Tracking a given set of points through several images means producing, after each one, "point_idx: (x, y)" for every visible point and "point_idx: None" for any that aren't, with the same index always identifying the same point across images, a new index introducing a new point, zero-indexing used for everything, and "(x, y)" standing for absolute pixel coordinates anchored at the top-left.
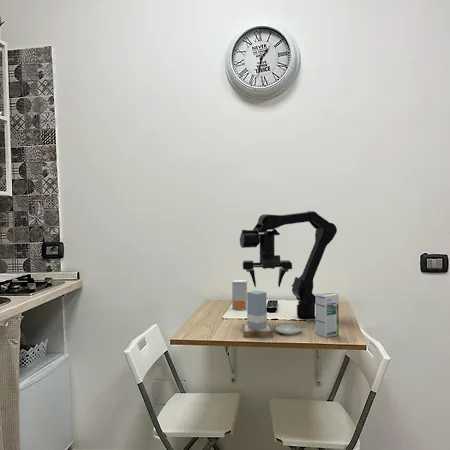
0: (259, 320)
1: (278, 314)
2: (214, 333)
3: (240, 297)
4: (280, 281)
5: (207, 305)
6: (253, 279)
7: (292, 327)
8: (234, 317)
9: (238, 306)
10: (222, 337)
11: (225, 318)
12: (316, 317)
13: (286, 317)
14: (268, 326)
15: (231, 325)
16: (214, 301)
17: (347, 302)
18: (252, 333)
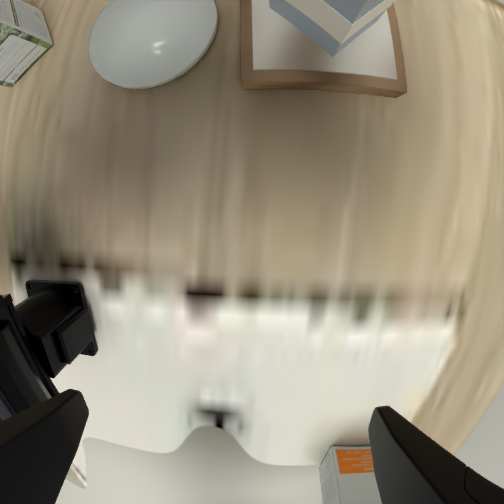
0: None
1: (182, 377)
2: (493, 64)
3: (362, 484)
4: (22, 417)
5: None
6: (451, 468)
7: (125, 38)
8: (412, 330)
9: (362, 454)
10: (457, 6)
11: (452, 310)
12: (9, 22)
13: (142, 323)
14: (256, 19)
15: (446, 176)
16: None
17: None
18: None
